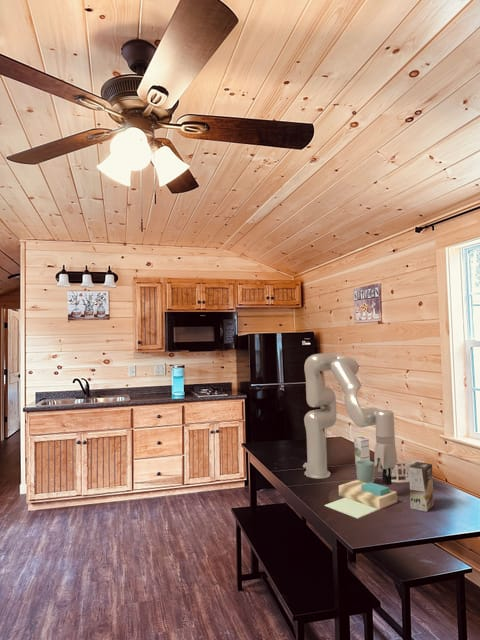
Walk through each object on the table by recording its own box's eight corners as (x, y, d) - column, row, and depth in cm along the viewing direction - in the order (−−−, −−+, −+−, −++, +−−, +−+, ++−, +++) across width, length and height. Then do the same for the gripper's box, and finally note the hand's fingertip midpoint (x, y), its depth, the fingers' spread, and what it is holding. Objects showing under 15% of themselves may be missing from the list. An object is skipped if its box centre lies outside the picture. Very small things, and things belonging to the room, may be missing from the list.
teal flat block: (361, 490, 174) (361, 485, 174) (370, 486, 178) (370, 482, 178) (380, 496, 167) (380, 491, 167) (389, 492, 171) (389, 487, 171)
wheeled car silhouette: (418, 473, 208) (418, 458, 208) (432, 480, 197) (431, 464, 197) (380, 476, 205) (379, 460, 205) (391, 483, 194) (391, 467, 194)
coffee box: (427, 512, 160) (425, 469, 161) (410, 508, 164) (408, 466, 165) (434, 505, 167) (432, 463, 168) (417, 501, 171) (415, 461, 172)
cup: (363, 488, 188) (362, 465, 189) (353, 482, 195) (353, 460, 196) (378, 486, 190) (377, 463, 191) (368, 481, 198) (367, 459, 198)
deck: (338, 495, 180) (338, 485, 180) (356, 489, 187) (356, 479, 187) (379, 509, 164) (379, 499, 164) (397, 502, 171) (396, 491, 171)
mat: (324, 506, 169) (324, 505, 169) (344, 498, 176) (344, 497, 176) (357, 518, 156) (357, 517, 156) (378, 510, 163) (378, 509, 163)
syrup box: (370, 466, 220) (369, 438, 221) (361, 468, 218) (360, 439, 219) (363, 463, 225) (362, 436, 226) (354, 465, 223) (353, 437, 224)
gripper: (387, 435, 186) (389, 478, 185) (367, 441, 177) (368, 485, 176) (403, 438, 180) (405, 482, 179) (382, 444, 171) (384, 490, 170)
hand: (387, 484), depth 178 cm, fingers closed
